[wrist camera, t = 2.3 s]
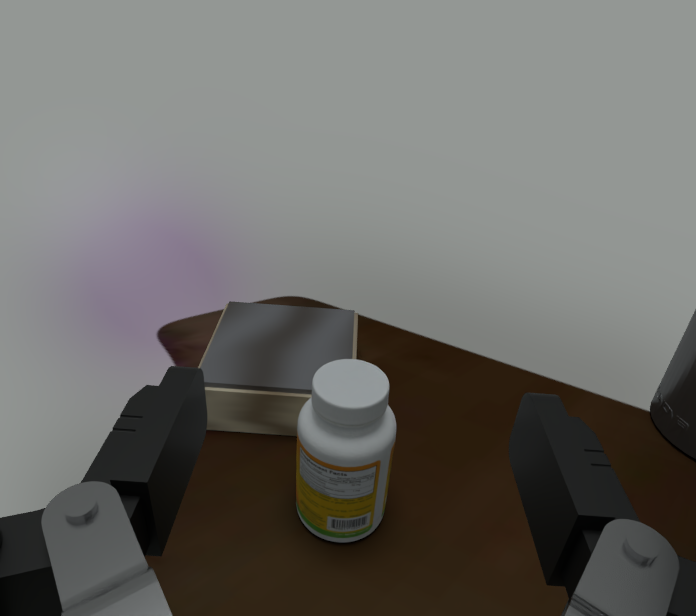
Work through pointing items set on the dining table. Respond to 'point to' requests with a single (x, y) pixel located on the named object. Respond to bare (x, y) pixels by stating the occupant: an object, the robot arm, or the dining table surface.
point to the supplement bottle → (345, 451)
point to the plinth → (270, 363)
